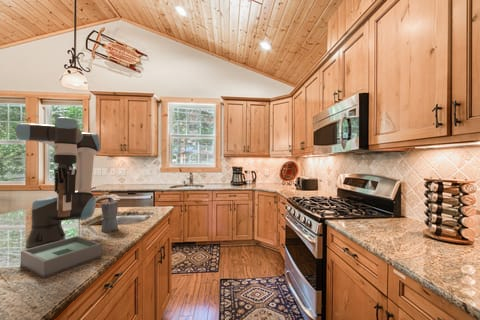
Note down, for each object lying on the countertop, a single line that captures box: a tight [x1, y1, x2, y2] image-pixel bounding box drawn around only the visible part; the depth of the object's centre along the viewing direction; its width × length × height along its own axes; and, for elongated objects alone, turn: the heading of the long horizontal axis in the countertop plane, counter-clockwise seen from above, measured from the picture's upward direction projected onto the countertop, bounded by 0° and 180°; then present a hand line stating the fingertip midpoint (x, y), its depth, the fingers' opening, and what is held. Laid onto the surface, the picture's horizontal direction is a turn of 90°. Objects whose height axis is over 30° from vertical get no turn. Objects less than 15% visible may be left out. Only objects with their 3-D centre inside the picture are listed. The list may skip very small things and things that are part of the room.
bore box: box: [19, 235, 103, 279], centre depth 90 cm, size 20×20×6 cm
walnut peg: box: [58, 183, 70, 217], centre depth 91 cm, size 4×4×14 cm
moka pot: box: [100, 197, 119, 233], centre depth 133 cm, size 10×15×20 cm, turn 24°
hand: (64, 209), depth 90 cm, fingers closed on walnut peg, 4 cm apart
